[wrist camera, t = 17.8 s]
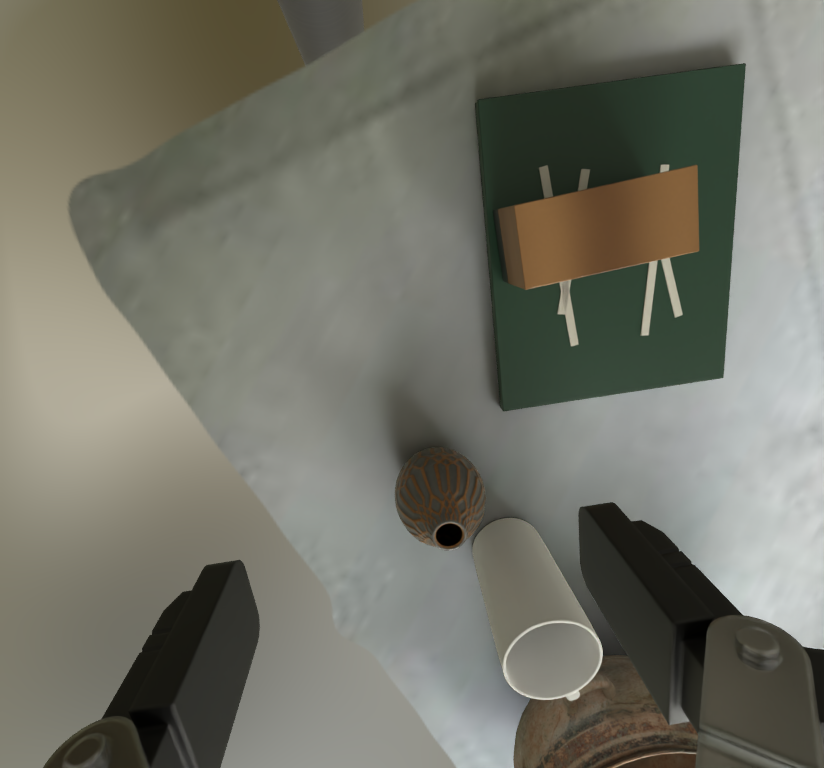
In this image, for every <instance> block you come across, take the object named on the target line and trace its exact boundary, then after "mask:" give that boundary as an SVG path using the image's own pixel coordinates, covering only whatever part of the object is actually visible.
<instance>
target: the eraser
mask: <svg viewBox="0 0 824 768" xmlns="http://www.w3.org/2000/svg"><path fill="white" fill-rule="evenodd" d="M493 216H494V223H495V230H496V236H497V243H498V250H499V257H500V263H501V270H502V277H503V281H504V282H506V283H509V284H511V285H514V286H517V287H520V288H522V289H525V290H527V289H532V288H536V287H541V286H545V285H550V284H554V283H559V282H563V281H568V280H572V279H577V278H581V277H586V276H590V275H595V274H599V273H604V272H608V271H613V270H617V269H622V268H626V267H631V266H635V265H640V264H644V263H649V262H653V261H658V260H662V259H667V258H671V257H675V256H680V255H684V254H689V253H693V252H698V251H699V215H698V166H697V165H692V166H688V167H683V168H679V169H674V170H670V171H665V172H661V173H656V174H652V175H647V176H643V177H638V178H634V179H629V180H625V181H620V182H616V183H611V184H607V185H602V186H598V187H593V188H589V189H585V190H580V191H576V192H571V193H567V194H562V195H558V196H553V197H549V198H544V199H540V200H535V201H531V202H526V203H522V204H517V205H513V206H508V207H504V208H500V209H496V210H493Z"/></svg>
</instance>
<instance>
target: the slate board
mask: <svg viewBox="0 0 824 768" xmlns="http://www.w3.org/2000/svg"><path fill="white" fill-rule="evenodd" d="M745 66H746V64H745V63H743V64H736V65H729V66H721V67H714V68H707V69H699V70H692V71H685V72H677V73H670V74H663V75H655V76H648V77H641V78H633V79H626V80H619V81H611V82H604V83H596V84H589V85H582V86H574V87H567V88H560V89H552V90H545V91H538V92H530V93H523V94H516V95H508V96H501V97H494V98H486V99H479V100H478V101H477V102H476V103H475V109H476V122H477V134H478V146H479V158H480V170H481V182H482V194H483V206H484V218H485V230H486V242H487V254H488V266H489V278H490V290H491V302H492V314H493V326H494V338H495V350H496V362H497V374H498V386H499V398H500V407H501V409H502V410H503V411H509V410H515V409H522V408H528V407H535V406H542V405H548V404H555V403H561V402H568V401H574V400H581V399H588V398H594V397H601V396H607V395H614V394H620V393H627V392H634V391H640V390H647V389H653V388H660V387H666V386H673V385H680V384H686V383H693V382H699V381H706V380H712V379H719V378H723V375H724V361H725V347H726V333H727V319H728V305H729V291H730V277H731V263H732V249H733V235H734V220H735V206H736V192H737V178H738V164H739V150H740V136H741V122H742V108H743V94H744V80H745ZM692 165H697V166H698V215H699V251H698V252H693V253H689V254H684V255H680V256H675V257H671V258H667V259H662V260H658V261H653V262H649V263H644V264H640V265H635V266H631V267H626V268H622V269H617V270H613V271H608V272H604V273H599V274H595V275H590V276H586V277H581V278H577V279H572V280H568V281H563V282H559V283H554V284H550V285H545V286H541V287H536V288H532V289H527V290H525V289H522V288H520V287H517V286H514V285H511V284H509V283H506V282H504V281H503V277H502V270H501V263H500V257H499V250H498V243H497V236H496V230H495V223H494V216H493V210H496V209H500V208H504V207H508V206H513V205H517V204H522V203H526V202H531V201H535V200H540V199H544V198H549V197H553V196H558V195H562V194H567V193H571V192H576V191H580V190H585V189H589V188H593V187H598V186H602V185H607V184H611V183H616V182H620V181H625V180H629V179H634V178H638V177H643V176H647V175H652V174H656V173H661V172H665V171H670V170H674V169H679V168H683V167H688V166H692Z"/></svg>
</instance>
